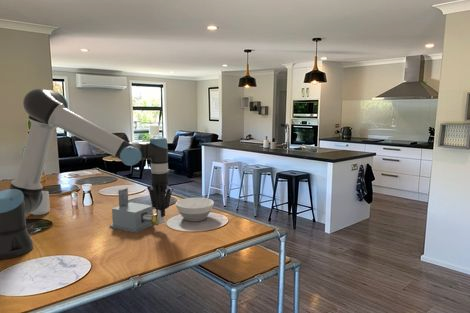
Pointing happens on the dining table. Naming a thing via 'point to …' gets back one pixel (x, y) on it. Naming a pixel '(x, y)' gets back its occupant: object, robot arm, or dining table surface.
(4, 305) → the dining table surface
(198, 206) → the bowl
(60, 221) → the dining table surface
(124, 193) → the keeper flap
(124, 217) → the block
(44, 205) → the mug
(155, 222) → the pin
